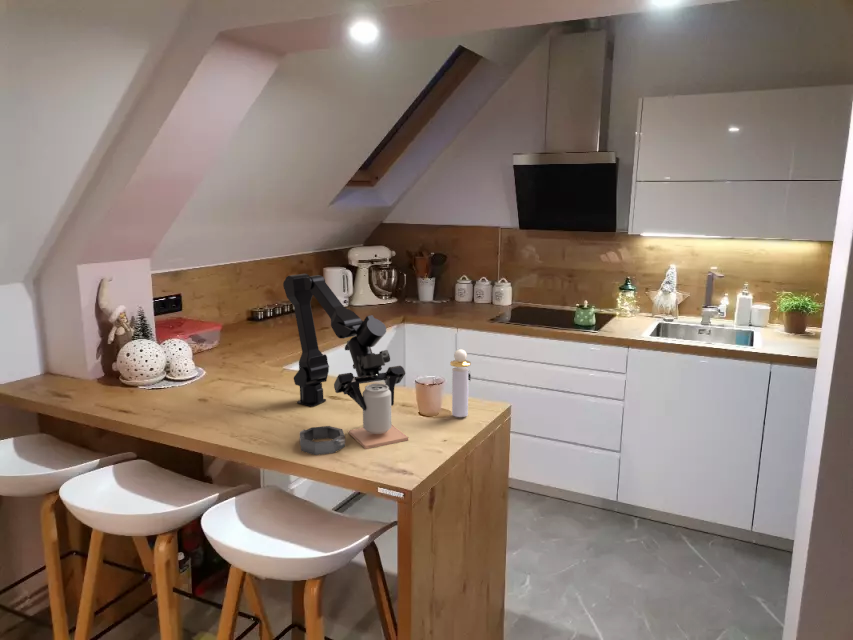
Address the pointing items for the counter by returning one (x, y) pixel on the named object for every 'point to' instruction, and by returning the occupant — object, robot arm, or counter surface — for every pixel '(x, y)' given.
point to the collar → (322, 446)
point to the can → (377, 408)
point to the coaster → (377, 437)
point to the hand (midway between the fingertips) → (379, 407)
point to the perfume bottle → (460, 384)
